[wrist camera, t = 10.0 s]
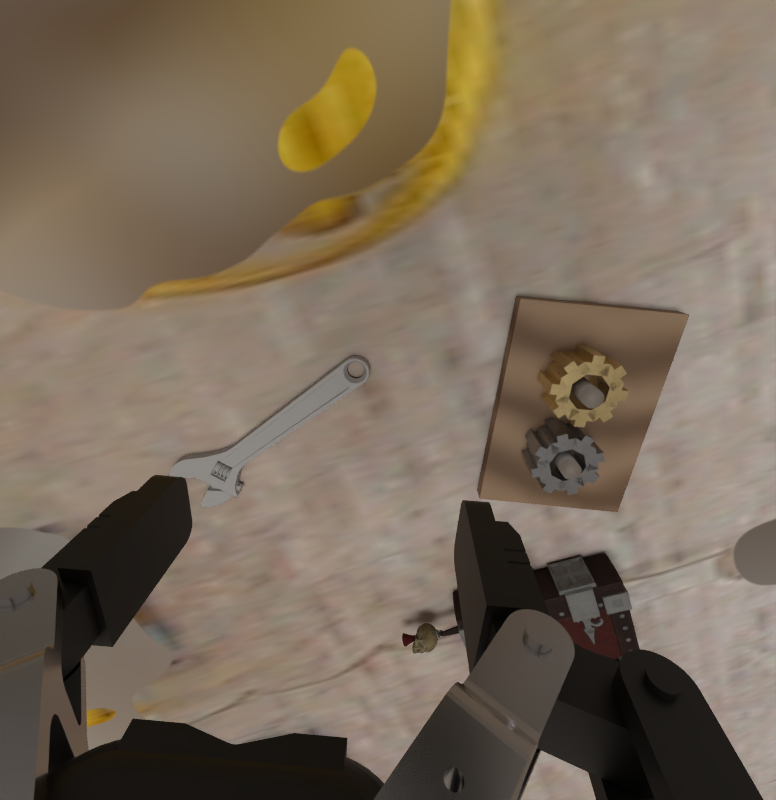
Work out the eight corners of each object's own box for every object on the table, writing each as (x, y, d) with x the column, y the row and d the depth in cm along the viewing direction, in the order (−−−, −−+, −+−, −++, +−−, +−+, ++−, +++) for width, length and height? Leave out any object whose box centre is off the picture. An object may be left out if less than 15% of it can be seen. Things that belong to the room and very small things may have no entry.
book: (626, 634, 50) (649, 675, 46) (434, 676, 55) (436, 718, 50) (603, 545, 45) (626, 581, 41) (394, 599, 50) (392, 637, 45)
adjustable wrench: (359, 347, 38) (357, 352, 37) (395, 401, 40) (395, 408, 39) (167, 466, 44) (157, 475, 42) (206, 509, 46) (199, 519, 44)
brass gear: (546, 341, 35) (560, 352, 32) (618, 348, 35) (639, 359, 32) (530, 407, 38) (542, 423, 34) (598, 413, 38) (616, 430, 34)
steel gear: (515, 426, 38) (525, 444, 35) (583, 409, 37) (599, 425, 34) (527, 480, 41) (538, 501, 37) (591, 465, 40) (608, 486, 36)
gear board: (516, 296, 35) (536, 307, 30) (678, 311, 35) (729, 325, 30) (477, 489, 43) (487, 527, 37) (610, 502, 43) (640, 543, 37)
